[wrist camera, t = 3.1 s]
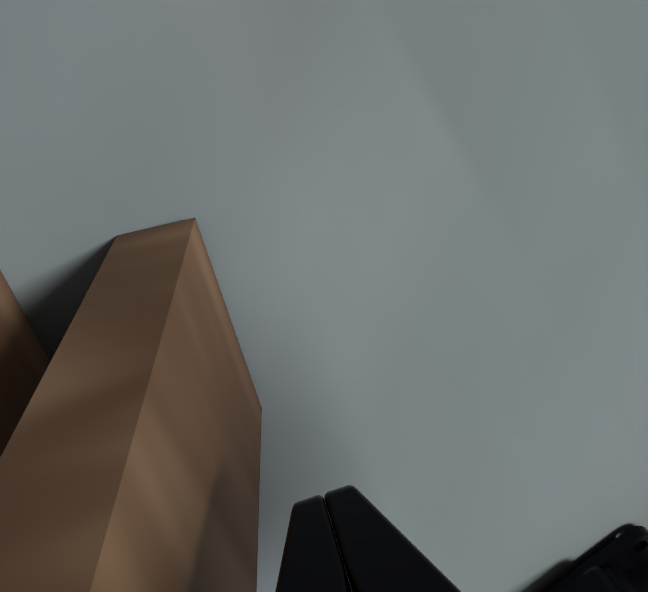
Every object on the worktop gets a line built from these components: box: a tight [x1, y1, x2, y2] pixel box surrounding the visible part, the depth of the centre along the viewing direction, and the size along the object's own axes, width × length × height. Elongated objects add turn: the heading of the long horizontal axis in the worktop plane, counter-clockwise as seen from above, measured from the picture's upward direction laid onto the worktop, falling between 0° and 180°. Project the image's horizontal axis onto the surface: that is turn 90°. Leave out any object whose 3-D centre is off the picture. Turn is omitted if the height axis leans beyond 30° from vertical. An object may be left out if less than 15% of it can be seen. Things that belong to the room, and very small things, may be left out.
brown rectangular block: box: [0, 218, 262, 592], centre depth 9 cm, size 2×5×10 cm, turn 12°
